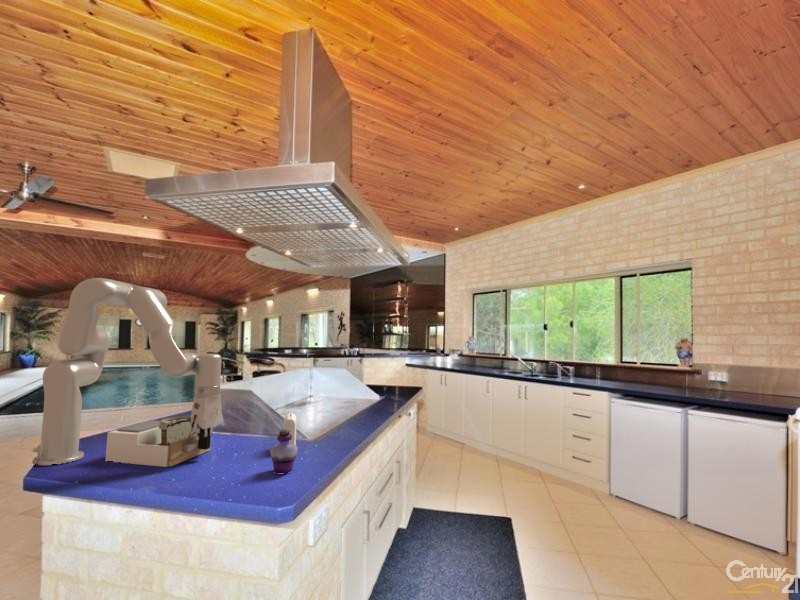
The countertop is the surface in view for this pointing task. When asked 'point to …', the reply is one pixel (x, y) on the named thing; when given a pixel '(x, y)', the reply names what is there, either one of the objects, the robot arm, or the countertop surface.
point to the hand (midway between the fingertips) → (204, 448)
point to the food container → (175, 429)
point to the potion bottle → (283, 453)
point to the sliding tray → (180, 455)
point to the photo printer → (291, 426)
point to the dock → (138, 445)
